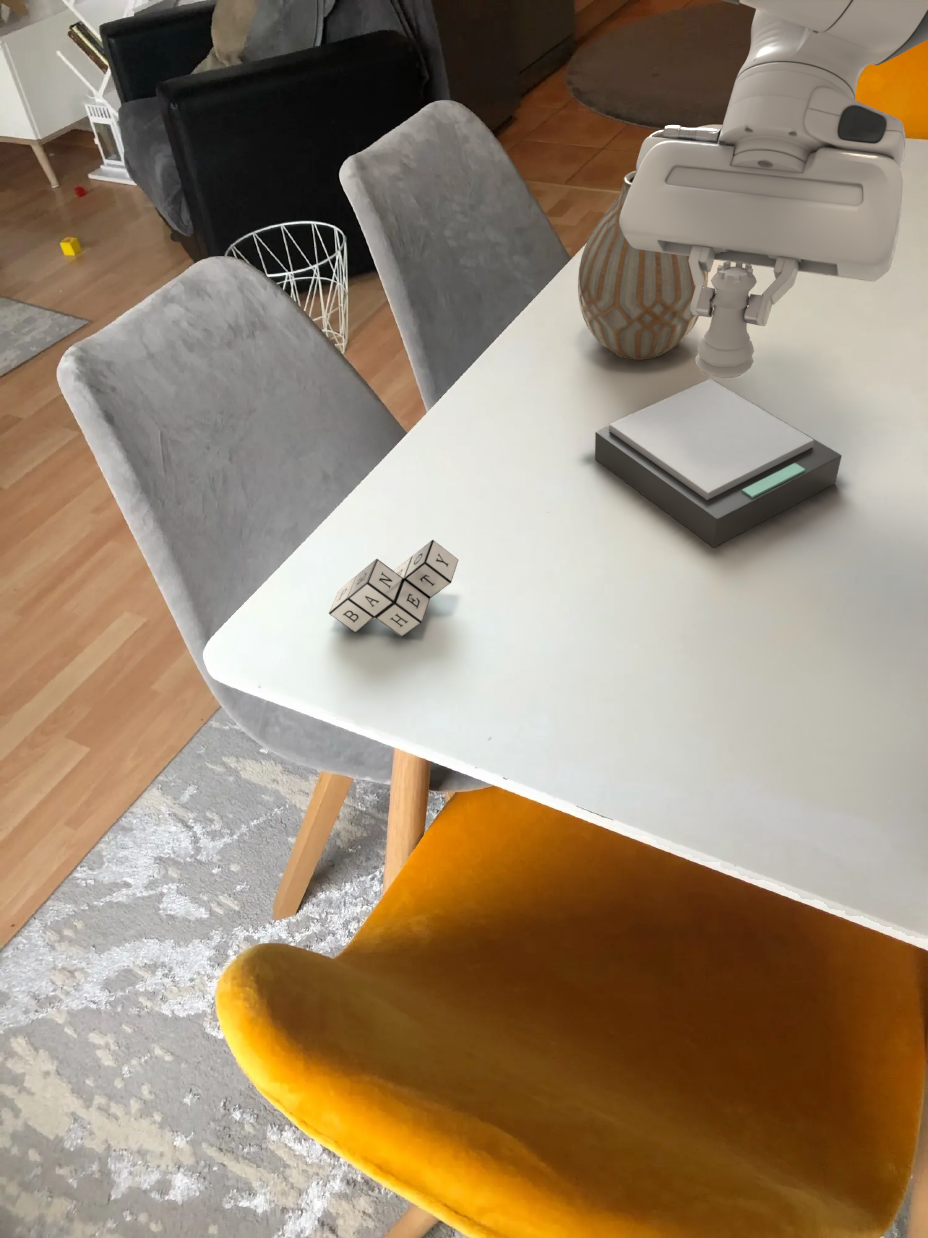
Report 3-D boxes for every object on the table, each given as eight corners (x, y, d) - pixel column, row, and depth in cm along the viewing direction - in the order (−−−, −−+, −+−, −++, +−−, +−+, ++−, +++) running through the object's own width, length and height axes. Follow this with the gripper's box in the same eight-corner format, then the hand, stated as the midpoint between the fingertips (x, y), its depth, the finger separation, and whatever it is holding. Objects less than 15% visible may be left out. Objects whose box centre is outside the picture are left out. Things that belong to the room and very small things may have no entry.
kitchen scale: (835, 483, 84) (843, 447, 81) (713, 547, 79) (718, 511, 77) (709, 405, 94) (712, 371, 91) (594, 458, 89) (595, 424, 87)
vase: (699, 378, 98) (716, 204, 85) (571, 374, 100) (569, 205, 88) (703, 315, 106) (719, 150, 94) (585, 313, 109) (585, 152, 97)
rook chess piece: (737, 386, 73) (750, 287, 68) (684, 371, 76) (693, 274, 70) (762, 359, 76) (777, 261, 70) (710, 345, 78) (721, 249, 72)
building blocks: (381, 651, 77) (443, 606, 72) (328, 613, 75) (387, 565, 70) (398, 605, 80) (458, 559, 75) (348, 568, 78) (406, 518, 73)
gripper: (639, 101, 72) (587, 283, 73) (928, 124, 64) (866, 326, 66) (656, 142, 78) (608, 310, 79) (923, 168, 70) (866, 353, 71)
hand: (727, 318), depth 72 cm, fingers closed on rook chess piece, 3 cm apart
